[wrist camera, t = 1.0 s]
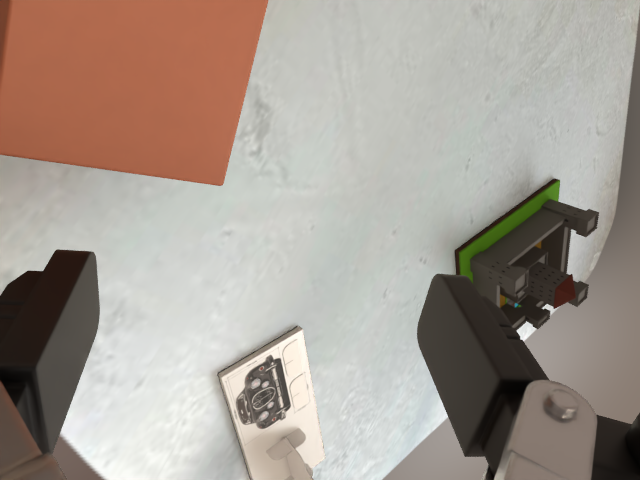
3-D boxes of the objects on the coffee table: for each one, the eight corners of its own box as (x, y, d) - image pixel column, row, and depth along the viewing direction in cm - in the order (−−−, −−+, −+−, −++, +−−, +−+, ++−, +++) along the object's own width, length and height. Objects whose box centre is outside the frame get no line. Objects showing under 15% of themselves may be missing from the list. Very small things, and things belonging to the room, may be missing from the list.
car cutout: (322, 454, 45) (355, 491, 42) (258, 503, 42) (288, 546, 39) (299, 326, 37) (338, 359, 34) (217, 373, 34) (252, 415, 31)
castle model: (554, 178, 52) (630, 201, 47) (545, 289, 61) (609, 319, 55) (455, 250, 46) (529, 286, 41) (461, 362, 54) (523, 403, 49)
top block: (-52, 82, 16) (-11, 153, 10) (-34, -92, 15) (28, -144, 8) (111, 117, 19) (223, 186, 13) (137, -24, 18) (275, -24, 12)
